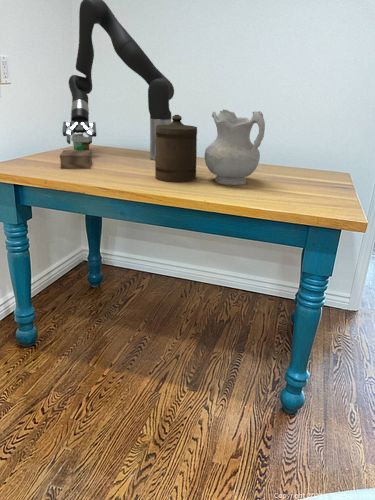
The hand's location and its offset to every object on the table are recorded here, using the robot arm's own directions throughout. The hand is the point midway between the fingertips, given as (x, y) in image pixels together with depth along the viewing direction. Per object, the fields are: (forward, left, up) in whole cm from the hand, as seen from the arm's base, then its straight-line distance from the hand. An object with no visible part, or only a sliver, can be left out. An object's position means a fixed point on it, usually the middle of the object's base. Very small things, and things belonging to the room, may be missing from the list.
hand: (79, 143), depth 178 cm
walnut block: (0, +16, -6) cm, 17 cm away
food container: (0, +2, -7) cm, 7 cm away
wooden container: (-37, +38, -7) cm, 54 cm away
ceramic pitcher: (-57, +45, -7) cm, 73 cm away
